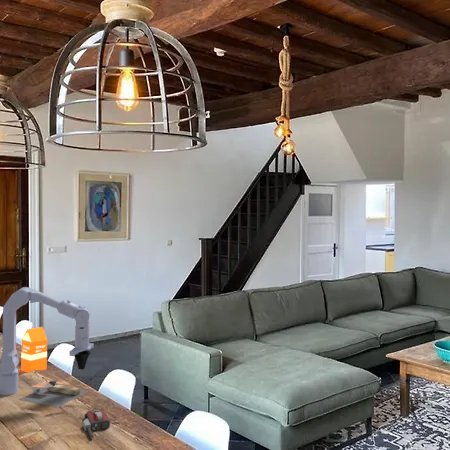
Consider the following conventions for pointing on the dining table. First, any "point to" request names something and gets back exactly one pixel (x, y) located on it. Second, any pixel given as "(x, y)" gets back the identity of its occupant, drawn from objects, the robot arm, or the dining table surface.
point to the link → (63, 389)
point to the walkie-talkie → (95, 421)
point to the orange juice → (34, 350)
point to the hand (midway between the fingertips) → (81, 368)
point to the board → (51, 398)
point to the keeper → (37, 388)
